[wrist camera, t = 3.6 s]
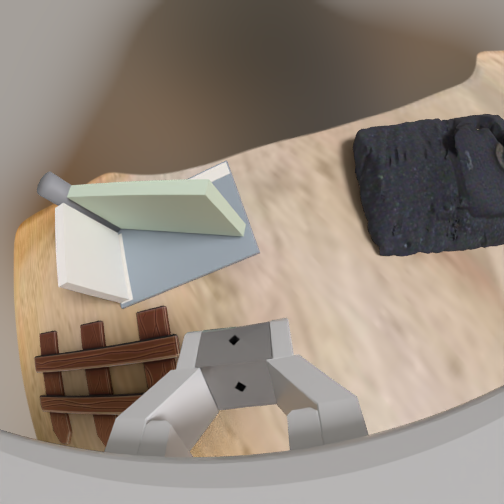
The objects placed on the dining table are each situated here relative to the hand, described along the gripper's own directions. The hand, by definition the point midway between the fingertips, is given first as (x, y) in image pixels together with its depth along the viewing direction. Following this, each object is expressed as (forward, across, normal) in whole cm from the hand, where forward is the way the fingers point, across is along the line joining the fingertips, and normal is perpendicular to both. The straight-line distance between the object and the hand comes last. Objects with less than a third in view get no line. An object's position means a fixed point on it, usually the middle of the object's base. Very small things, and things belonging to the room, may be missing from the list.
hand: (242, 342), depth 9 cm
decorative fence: (+15, -20, -17) cm, 30 cm away
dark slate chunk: (+20, +21, -2) cm, 29 cm away
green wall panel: (+23, -8, -3) cm, 25 cm away
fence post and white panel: (+24, -16, -5) cm, 29 cm away
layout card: (+23, -9, -4) cm, 25 cm away
